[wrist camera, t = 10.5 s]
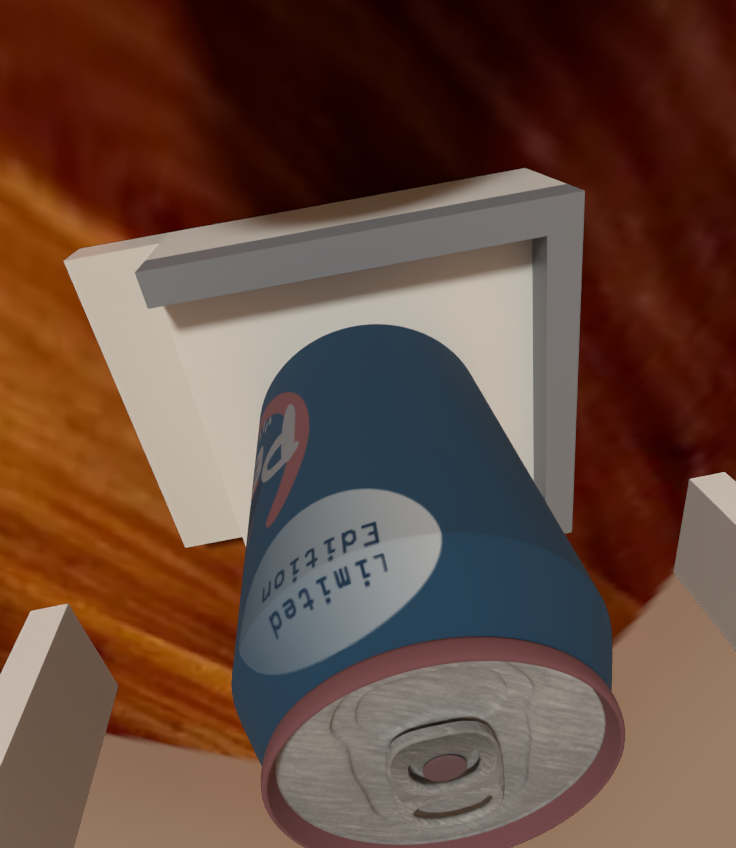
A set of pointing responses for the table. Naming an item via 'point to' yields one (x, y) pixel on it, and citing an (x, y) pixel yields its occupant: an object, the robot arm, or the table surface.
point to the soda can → (412, 612)
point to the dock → (340, 322)
